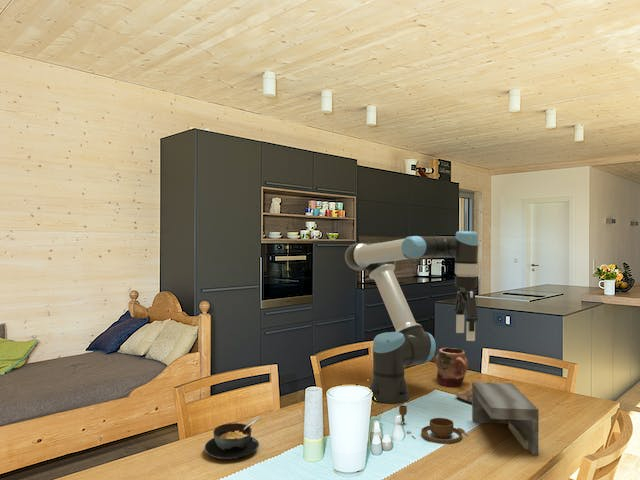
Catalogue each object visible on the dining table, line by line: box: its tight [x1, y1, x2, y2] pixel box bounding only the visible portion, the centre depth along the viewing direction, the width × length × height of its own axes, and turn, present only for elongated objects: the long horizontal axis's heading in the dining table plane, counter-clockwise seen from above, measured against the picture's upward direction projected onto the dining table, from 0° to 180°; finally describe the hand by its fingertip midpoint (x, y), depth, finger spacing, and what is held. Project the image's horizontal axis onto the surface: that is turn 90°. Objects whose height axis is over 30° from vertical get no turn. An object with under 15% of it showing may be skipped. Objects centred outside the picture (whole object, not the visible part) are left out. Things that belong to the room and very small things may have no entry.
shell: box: [455, 388, 472, 405], centre depth 184 cm, size 12×13×4 cm
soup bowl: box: [204, 415, 261, 460], centre depth 141 cm, size 15×16×7 cm
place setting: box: [398, 404, 470, 444], centre depth 155 cm, size 18×20×6 cm
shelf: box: [471, 381, 540, 457], centre depth 150 cm, size 12×26×12 cm, turn 174°
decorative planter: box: [434, 347, 470, 387], centre depth 205 cm, size 20×12×14 cm, turn 20°
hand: (465, 336), depth 176 cm, fingers open, 13 cm apart
